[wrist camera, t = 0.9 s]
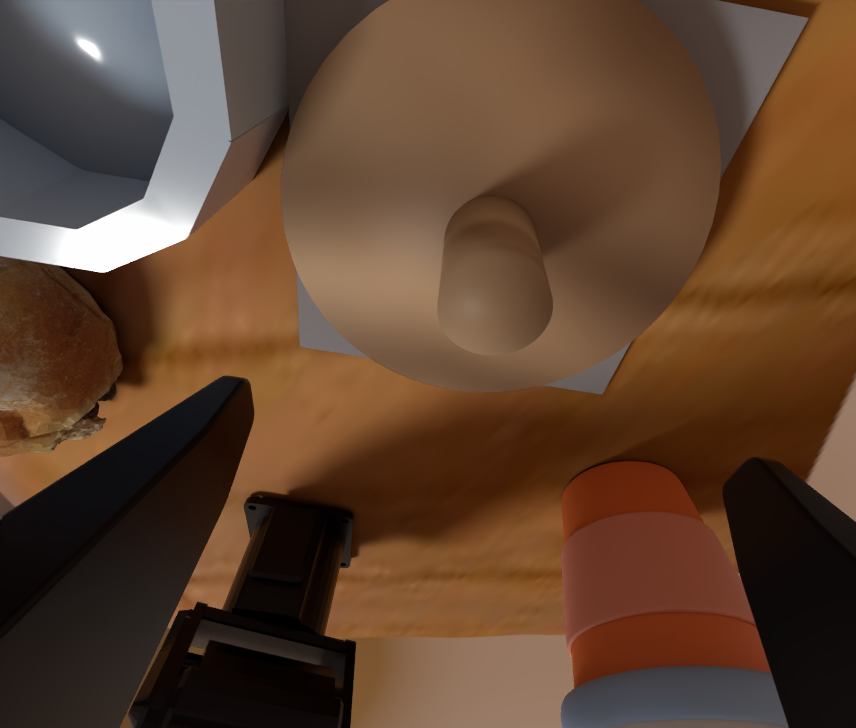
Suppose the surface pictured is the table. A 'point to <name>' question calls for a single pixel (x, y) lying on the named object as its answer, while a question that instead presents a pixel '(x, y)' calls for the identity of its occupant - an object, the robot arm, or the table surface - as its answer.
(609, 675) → the cup with straw
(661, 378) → the table surface
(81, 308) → the bread roll
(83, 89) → the bowl
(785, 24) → the mat
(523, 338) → the lid
